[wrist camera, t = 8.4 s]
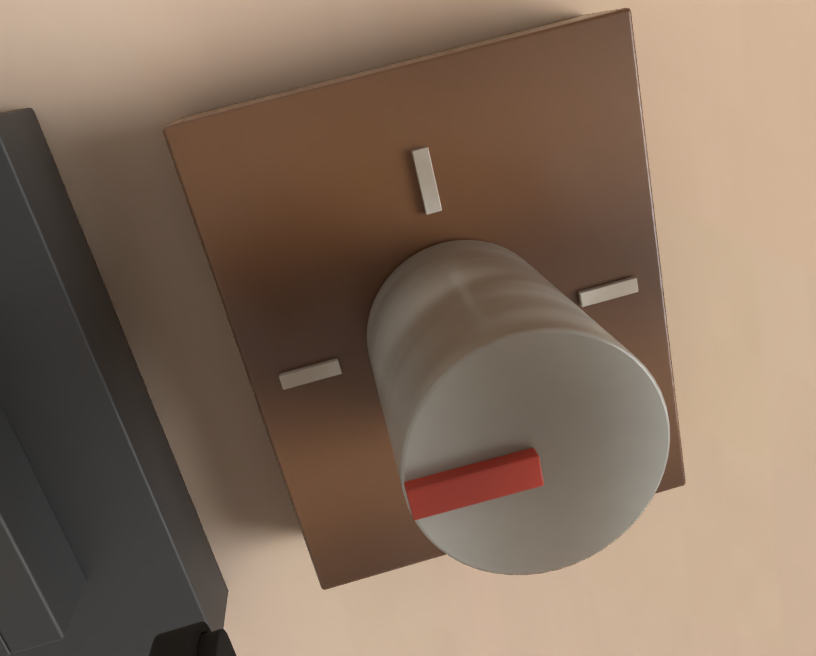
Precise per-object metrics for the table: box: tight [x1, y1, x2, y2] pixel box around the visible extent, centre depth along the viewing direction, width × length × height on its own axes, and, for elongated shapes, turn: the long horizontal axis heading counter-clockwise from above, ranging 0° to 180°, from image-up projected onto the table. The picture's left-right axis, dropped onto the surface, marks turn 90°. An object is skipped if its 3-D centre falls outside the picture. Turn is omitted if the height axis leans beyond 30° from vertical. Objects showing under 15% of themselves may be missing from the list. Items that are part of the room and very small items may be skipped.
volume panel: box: [163, 8, 686, 590], centre depth 18 cm, size 12×10×3 cm
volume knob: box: [367, 240, 670, 575], centre depth 14 cm, size 4×4×6 cm
